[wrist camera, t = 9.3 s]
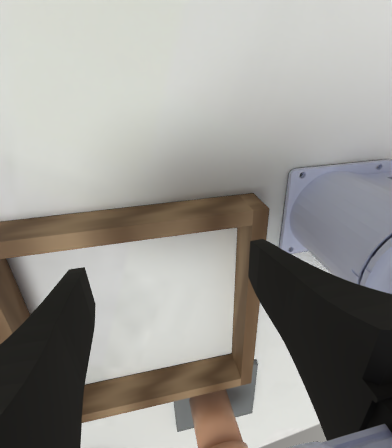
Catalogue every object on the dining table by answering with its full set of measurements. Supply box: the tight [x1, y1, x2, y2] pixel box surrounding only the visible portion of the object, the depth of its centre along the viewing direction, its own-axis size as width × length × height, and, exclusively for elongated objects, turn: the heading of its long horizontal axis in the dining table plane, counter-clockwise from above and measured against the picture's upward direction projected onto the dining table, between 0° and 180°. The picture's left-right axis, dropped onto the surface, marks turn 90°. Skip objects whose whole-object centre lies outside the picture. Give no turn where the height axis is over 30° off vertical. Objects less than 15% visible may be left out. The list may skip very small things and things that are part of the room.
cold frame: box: [0, 193, 269, 423], centre depth 24 cm, size 30×20×3 cm
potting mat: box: [174, 360, 258, 432], centre depth 34 cm, size 10×10×1 cm
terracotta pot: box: [189, 389, 248, 448], centre depth 31 cm, size 5×5×7 cm
